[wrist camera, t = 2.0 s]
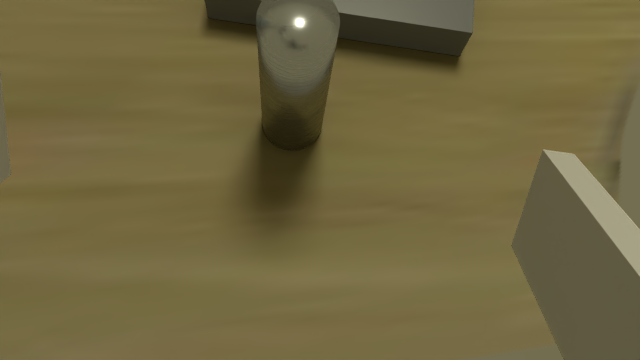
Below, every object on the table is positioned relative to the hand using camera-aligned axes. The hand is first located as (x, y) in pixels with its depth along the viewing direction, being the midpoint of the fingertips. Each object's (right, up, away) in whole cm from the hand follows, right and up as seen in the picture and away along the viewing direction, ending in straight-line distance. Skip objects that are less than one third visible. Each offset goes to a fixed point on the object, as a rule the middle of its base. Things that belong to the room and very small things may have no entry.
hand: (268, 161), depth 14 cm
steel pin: (-1, +3, +25) cm, 25 cm away
